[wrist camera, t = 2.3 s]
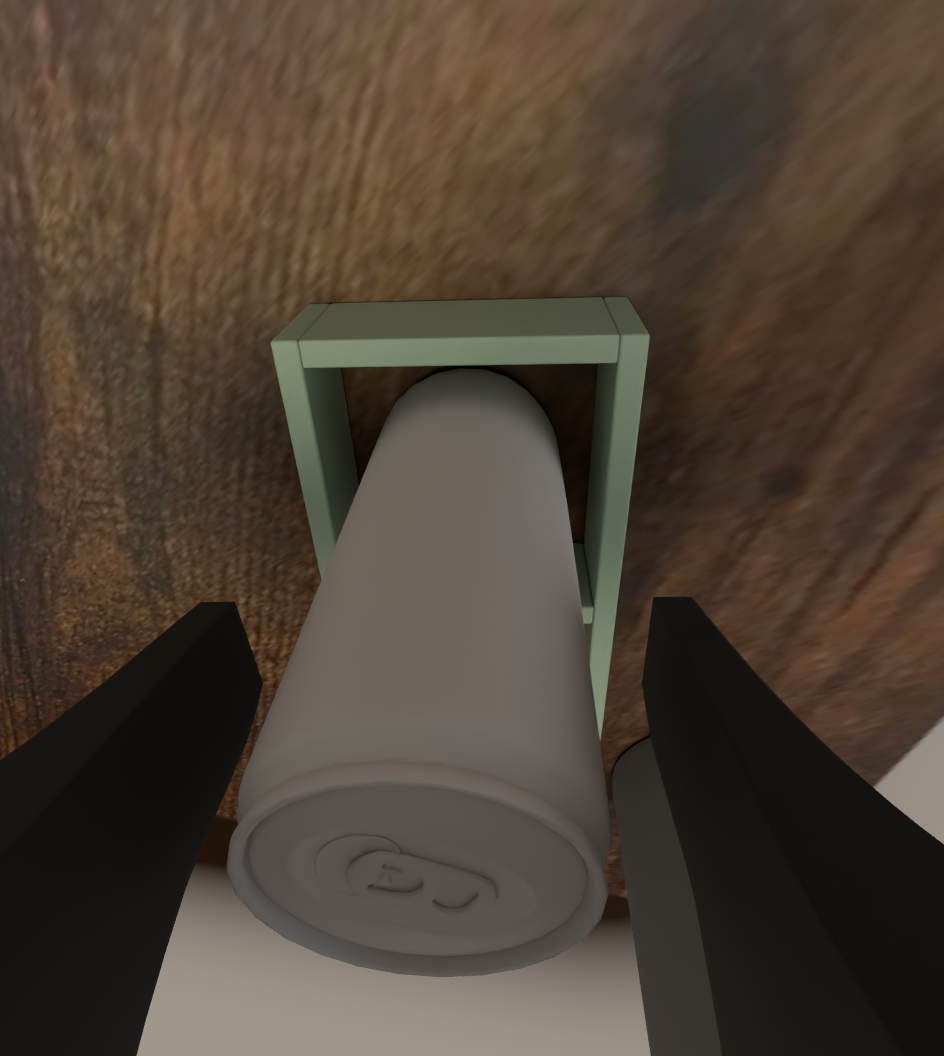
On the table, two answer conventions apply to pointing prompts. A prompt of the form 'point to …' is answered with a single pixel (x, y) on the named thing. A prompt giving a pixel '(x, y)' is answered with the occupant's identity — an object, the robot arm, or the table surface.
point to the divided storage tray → (474, 339)
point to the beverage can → (437, 710)
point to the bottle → (662, 913)
